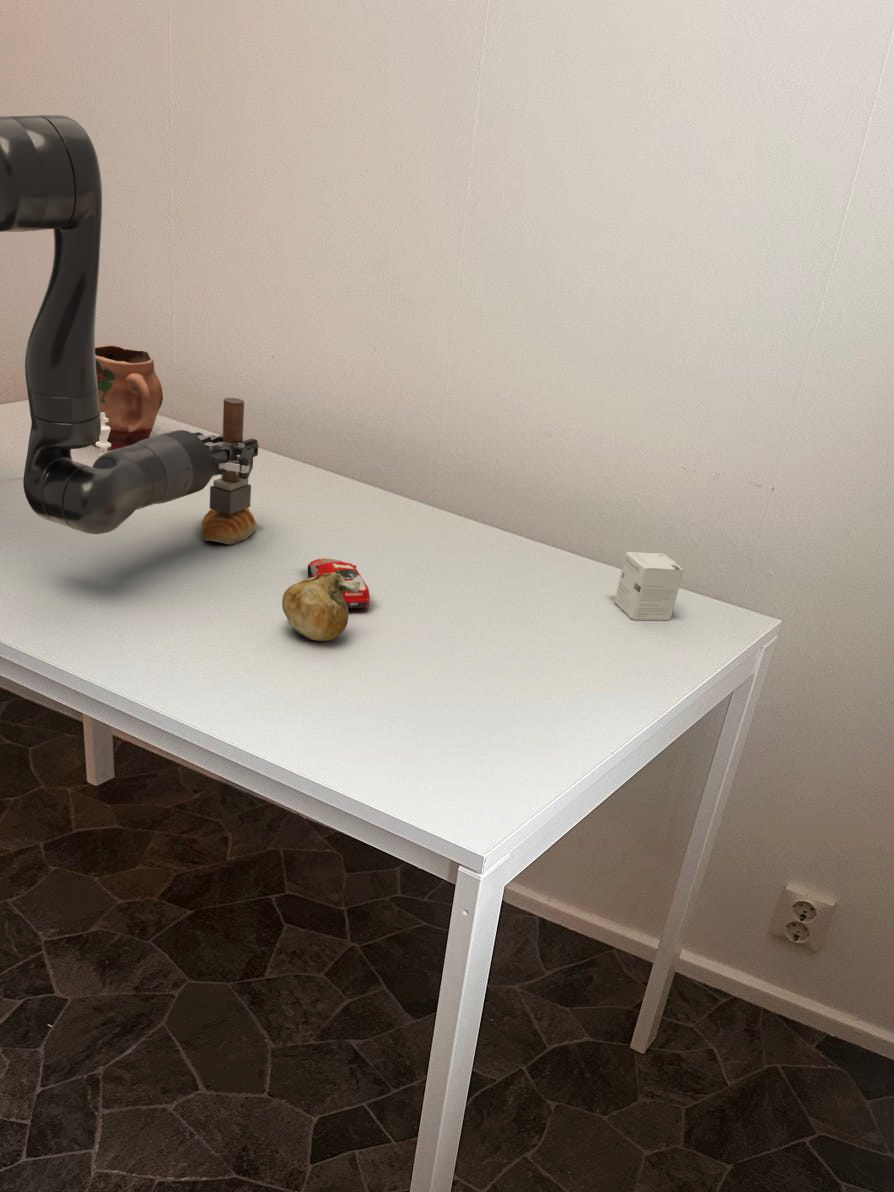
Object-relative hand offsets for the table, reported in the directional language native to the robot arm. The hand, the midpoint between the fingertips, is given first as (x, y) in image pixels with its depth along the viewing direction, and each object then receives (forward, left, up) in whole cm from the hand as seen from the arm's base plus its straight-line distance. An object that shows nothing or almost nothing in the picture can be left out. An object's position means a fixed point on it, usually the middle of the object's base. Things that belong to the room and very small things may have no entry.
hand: (244, 444), depth 157 cm
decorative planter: (+6, +40, -12) cm, 42 cm away
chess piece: (-7, +24, -12) cm, 27 cm away
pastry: (-3, -1, -12) cm, 12 cm away
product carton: (+32, -46, -12) cm, 58 cm away
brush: (-3, -1, -8) cm, 8 cm away
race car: (-3, -24, -12) cm, 27 cm away
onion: (-14, -32, -12) cm, 37 cm away
